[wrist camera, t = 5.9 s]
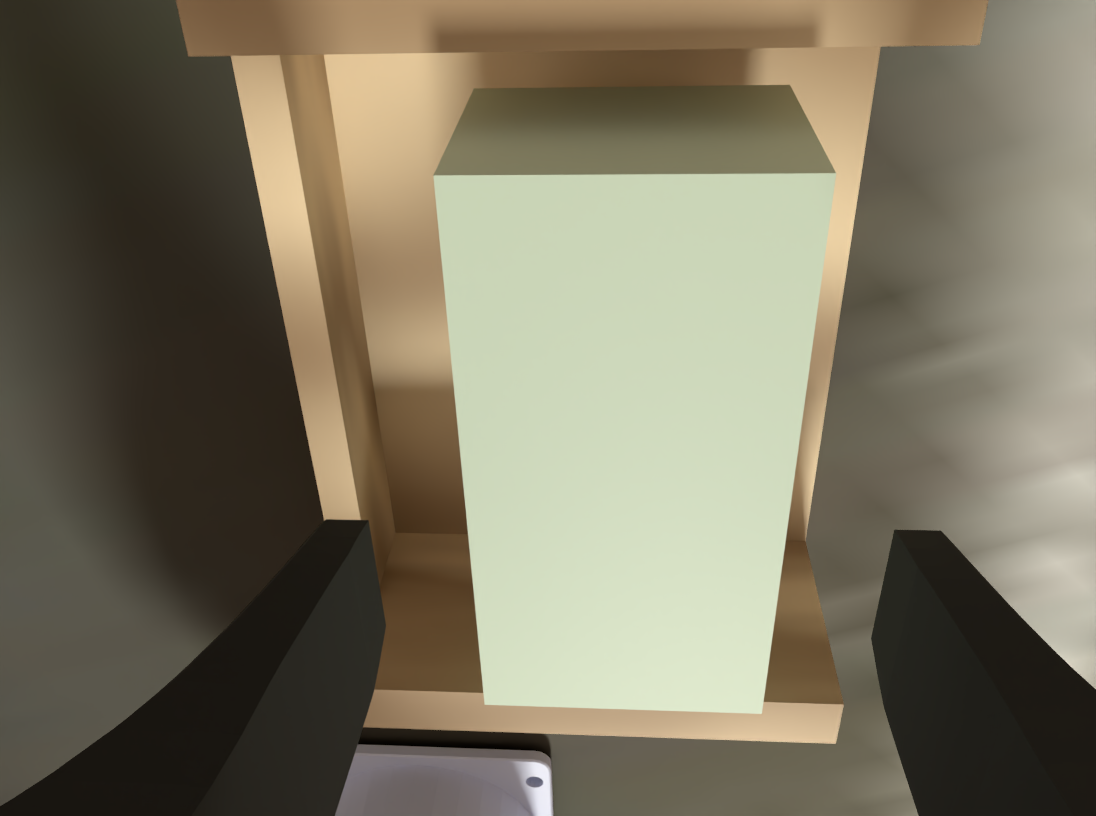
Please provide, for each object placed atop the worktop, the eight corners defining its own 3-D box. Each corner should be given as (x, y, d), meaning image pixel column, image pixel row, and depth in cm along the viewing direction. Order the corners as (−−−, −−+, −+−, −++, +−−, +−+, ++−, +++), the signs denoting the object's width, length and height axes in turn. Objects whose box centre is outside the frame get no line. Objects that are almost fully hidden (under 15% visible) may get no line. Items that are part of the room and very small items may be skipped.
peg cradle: (796, 561, 25) (836, 743, 20) (375, 552, 25) (319, 725, 21) (894, -107, 16) (1000, -59, 12) (267, -92, 17) (136, -40, 13)
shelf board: (739, 562, 21) (761, 714, 17) (506, 556, 21) (484, 704, 18) (790, 84, 15) (836, 173, 12) (473, 88, 16) (433, 175, 12)
